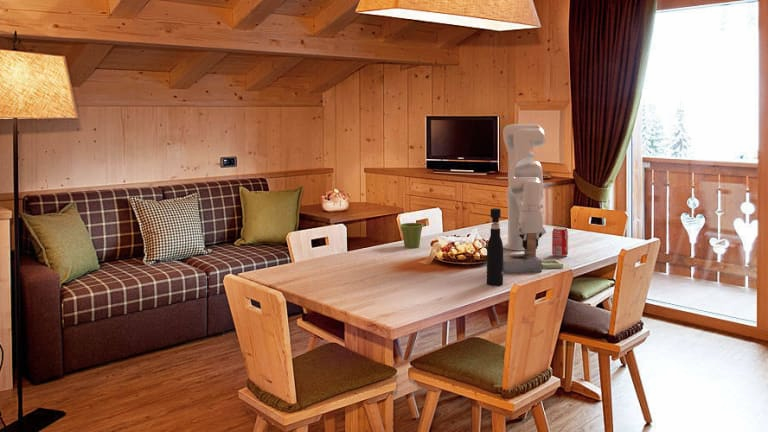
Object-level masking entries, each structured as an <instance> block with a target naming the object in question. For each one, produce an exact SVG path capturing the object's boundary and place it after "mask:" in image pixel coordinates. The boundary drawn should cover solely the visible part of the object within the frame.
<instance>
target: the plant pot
mask: <svg viewBox="0 0 768 432" xmlns="http://www.w3.org/2000/svg"><path fill="white" fill-rule="evenodd" d="M399 226H400V229H401V230H400V231H401V233H402V239H403V244H404V245H403V246H404V248H406V249H408V248H410V249H417V248H419V247H420V244H421V238H422V230H423V226H424V224H423V223H420V222H406V223H405V222H404V223H400V224H399Z"/></svg>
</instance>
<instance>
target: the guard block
mask: <svg viewBox="0 0 768 432" xmlns="http://www.w3.org/2000/svg"><path fill="white" fill-rule="evenodd" d="M542 260H543V259H540V258H539V257H537V255H536V256H534V255H533V254H524V253H513V254H503V272H504V273H503V274H522V273H523V274H528V273H542V271H543V268H542Z"/></svg>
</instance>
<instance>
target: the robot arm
mask: <svg viewBox="0 0 768 432" xmlns="http://www.w3.org/2000/svg"><path fill="white" fill-rule="evenodd" d="M502 132H503V133H502V135H503V136H502V137H503V143H504V144H505V145H504V146H505V148H506V150H507V159H508V164H507V165H508V171H507V180H508V186H507V188H506V192H505V193H506V201H507V244H504V245H503V249H506V250H510V251H524V249H527V240H526V237H527V233H536V250H537V249H538V247H539V240H540V238H542V236H544V235H545V234H547V230H546V229H545V228H544V225H543V224H544V222H543V214H542V210H541V209H543V208H544V205H543V204H542V202H543V200H544V177H543V176H544V175H543V174H544V173H543V167H542V164H541V163H540V162H539V161H538V160H537V161H535V151H534V148H535V147H536V148H537V147H538V148H539V147H540V148H541V147H543V146H545V143H546V134H545V131H544V128H542V127H541V125H540V124H537V123H512V124H508V125H506V126H504V128H503V131H502Z"/></svg>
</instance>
